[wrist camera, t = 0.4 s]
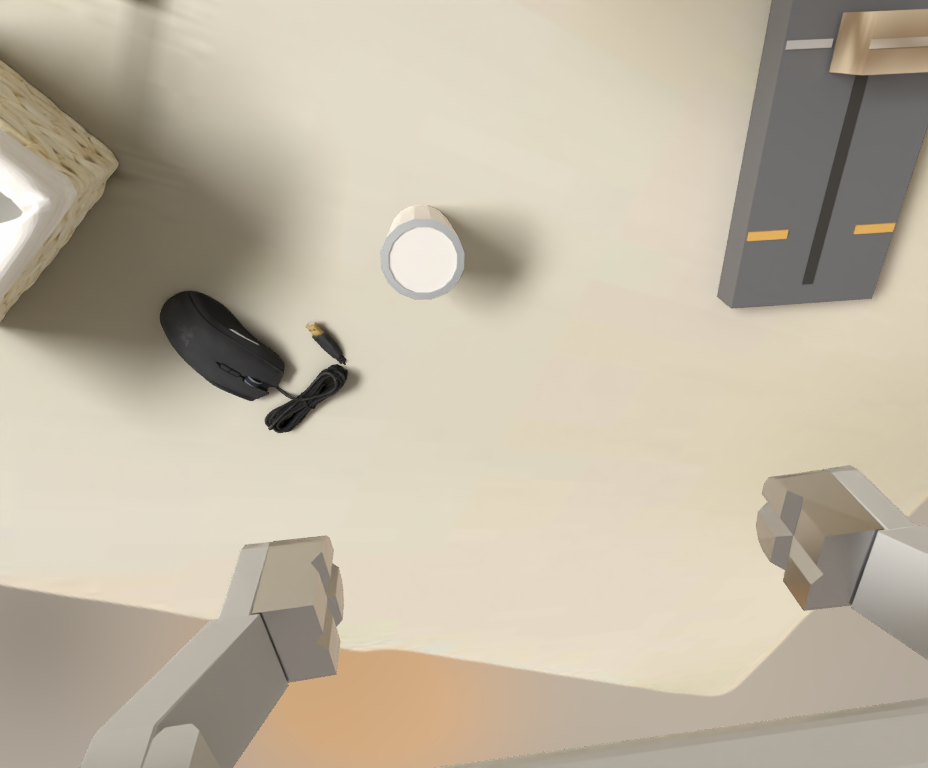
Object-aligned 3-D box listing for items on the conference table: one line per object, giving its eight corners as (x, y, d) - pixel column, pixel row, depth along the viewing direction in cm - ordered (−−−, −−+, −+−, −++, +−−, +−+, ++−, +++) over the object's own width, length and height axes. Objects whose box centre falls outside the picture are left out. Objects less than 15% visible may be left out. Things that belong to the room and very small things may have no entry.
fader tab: (843, 12, 46) (880, 11, 42) (919, 9, 46) (962, 7, 43) (829, 71, 48) (863, 75, 44) (901, 68, 48) (941, 71, 45)
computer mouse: (244, 238, 54) (233, 252, 51) (369, 372, 62) (367, 393, 59) (148, 314, 57) (132, 332, 54) (280, 434, 65) (273, 456, 62)
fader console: (774, -15, 47) (797, -17, 45) (945, -22, 48) (978, -25, 45) (717, 296, 61) (732, 309, 58) (852, 287, 61) (872, 299, 59)
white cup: (473, 225, 55) (482, 250, 49) (431, 285, 58) (434, 315, 52) (409, 181, 53) (410, 201, 47) (368, 245, 55) (364, 272, 49)
